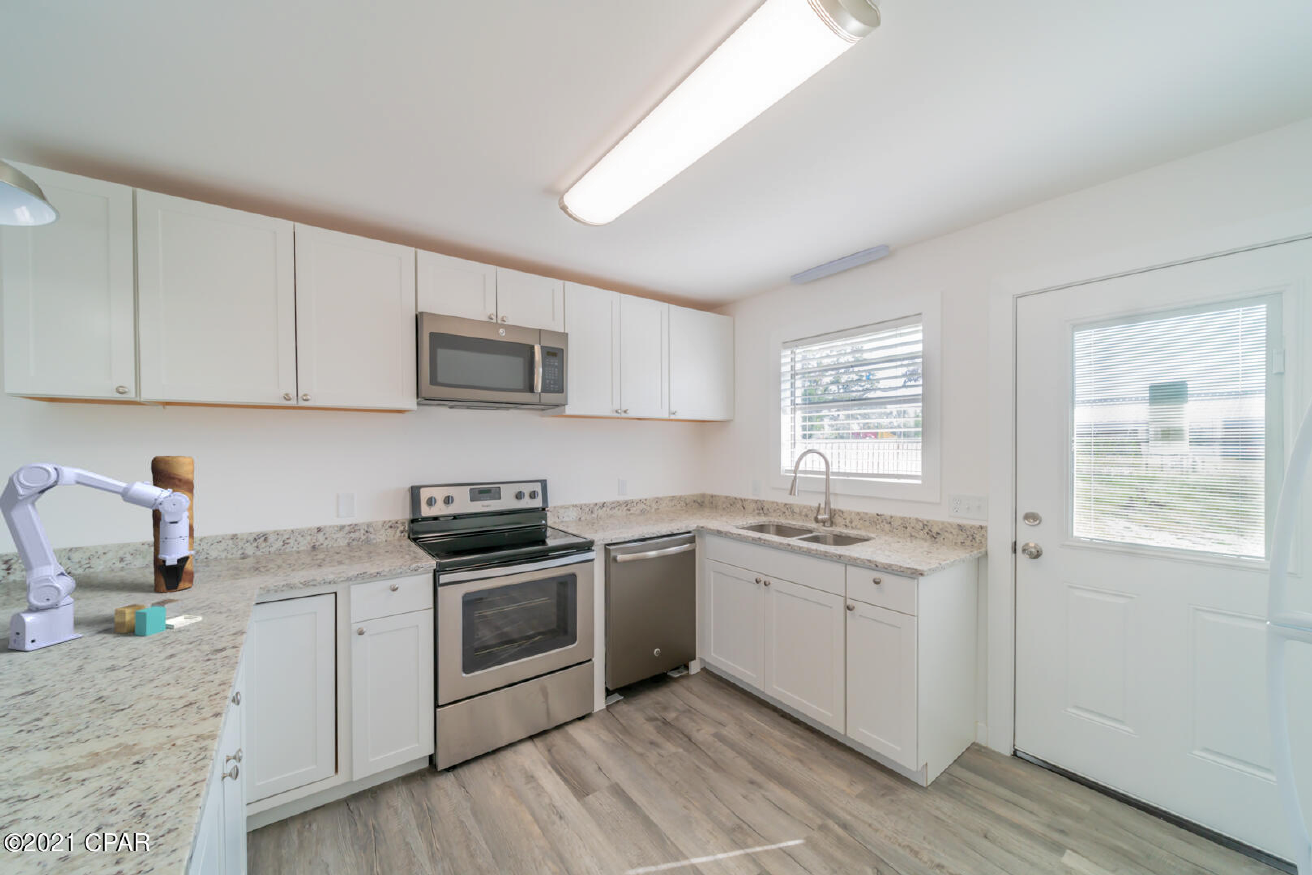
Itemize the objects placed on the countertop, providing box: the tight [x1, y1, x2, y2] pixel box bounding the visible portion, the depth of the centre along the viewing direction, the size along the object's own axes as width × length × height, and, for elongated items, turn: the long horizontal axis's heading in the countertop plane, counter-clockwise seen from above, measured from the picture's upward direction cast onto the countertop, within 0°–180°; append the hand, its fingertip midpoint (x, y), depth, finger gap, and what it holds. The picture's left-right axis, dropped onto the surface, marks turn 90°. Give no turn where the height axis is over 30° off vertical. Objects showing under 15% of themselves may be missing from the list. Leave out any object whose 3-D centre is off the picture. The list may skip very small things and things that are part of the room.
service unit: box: [150, 598, 183, 620], centre depth 136 cm, size 4×5×5 cm
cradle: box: [166, 614, 203, 630], centre depth 133 cm, size 6×6×1 cm
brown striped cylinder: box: [150, 455, 195, 594], centre depth 167 cm, size 10×11×45 cm
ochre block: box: [114, 603, 146, 634], centre depth 129 cm, size 4×4×6 cm
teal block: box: [134, 606, 167, 637], centre depth 127 cm, size 4×4×6 cm
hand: (173, 586), depth 135 cm, fingers open, 7 cm apart
